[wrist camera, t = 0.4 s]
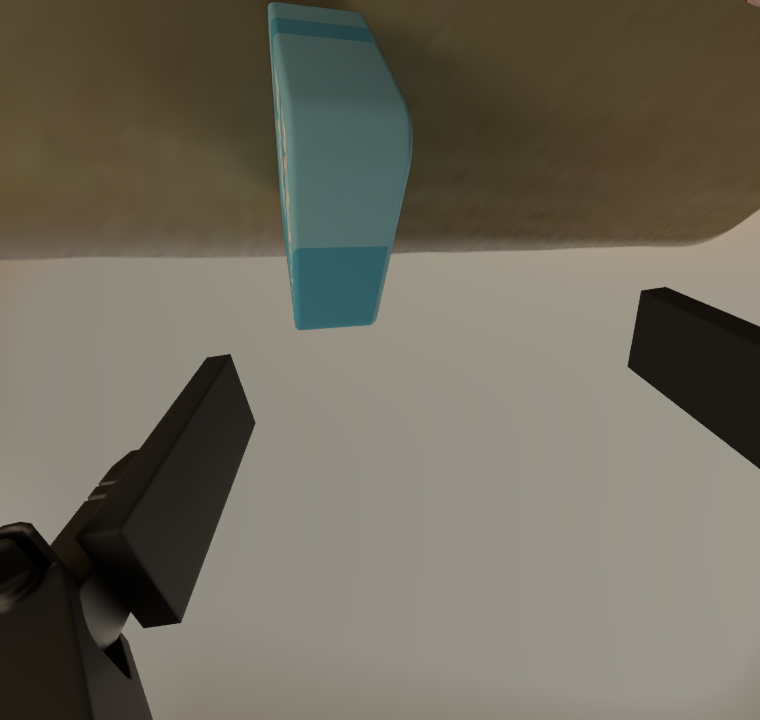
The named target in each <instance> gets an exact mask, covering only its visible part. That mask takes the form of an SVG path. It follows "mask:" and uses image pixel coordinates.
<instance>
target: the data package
mask: <svg viewBox="0 0 760 720" xmlns="http://www.w3.org/2000/svg"><path fill="white" fill-rule="evenodd" d="M268 26H269V41H270V55H271V70H272V84H273V98H274V113H275V127H276V142H277V156H278V170H279V185H280V199H281V210H282V220H283V228H284V237H285V245H286V253H287V262H288V270H289V278H290V287H291V295H292V304H293V312H294V320H295V326H296V328H297V329H298V330H309V329H322V328H335V327H336V328H337V327H349V326H363V325H372V324H373V323H374V322H375V321H376V318H377V314H378V310H379V305H380V301H381V296H382V292H383V286H384V283H385V278H386V273H387V269H388V264H389V260H390V255H391V251H392V246H393V242H394V237H395V233H396V228H397V224H398V219H399V215H400V210H401V206H402V201H403V197H404V192H405V188H406V183H407V179H408V174H409V170H410V164H411V157H412V144H413V133H412V121H411V115H410V111H409V108H408V106H407V103H406V101H405V99H404V97H403V95H402V93H401V91H400V89H399V87H398V85H397V83H396V81H395V79H394V77H393V75H392V73H391V71H390V69H389V67H388V65H387V63H386V61H385V59H384V57H383V55H382V53H381V51H380V49H379V47H378V45H377V43H376V41H375V39H374V37H373V35H372V33H371V31H370V29H369V27H368V25H367V23H366V21H365V19H364V17H363V15H362V14H361V13H359V12H354V11H346V10H337V9H329V8H321V7H313V6H304V5H296V4H288V3H280V2H271V3H270V4H269V6H268Z"/></svg>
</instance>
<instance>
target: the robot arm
mask: <svg viewBox="0 0 760 720" xmlns="http://www.w3.org/2000/svg"><path fill="white" fill-rule="evenodd" d="M628 367H629V368H630V369H631V370H632V371H634V372H635V373H637V374H638V375H639V376H640V377H642V378H643V379H644V380H645V381H647V382H648V383H649V384H651V385H652V386H653V387H655V388H656V389H657V390H658V391H660V392H661V393H662V394H664V395H665V396H666V397H667V398H669V399H670V400H671V401H673V402H674V403H675V404H676V405H678V406H679V407H680V408H682V409H683V410H684V411H685V412H687V413H688V414H689V415H691V416H692V417H693V418H695V419H696V420H697V421H698V422H700V423H701V424H702V425H704V426H705V427H706V428H708V429H709V430H710V431H711V432H713V433H714V434H715V435H717V436H718V437H719V438H720V439H722V440H723V441H724V442H726V443H727V444H728V445H729V446H731V447H732V448H733V449H735V450H736V451H737V452H739V453H740V454H741V455H743V456H744V457H745V458H746V459H748V460H749V461H750V462H752V463H753V464H754V465H755V466H757V467H758V468H759V469H760V327H759V326H757V325H755V324H752V323H750V322H748V321H745V320H743V319H741V318H738V317H736V316H733V315H731V314H729V313H726V312H724V311H722V310H719V309H717V308H714V307H712V306H710V305H707V304H705V303H702V302H700V301H698V300H695V299H693V298H690V297H688V296H686V295H683V294H681V293H679V292H676V291H674V290H672V289H669V288H667V287H662V288H656V289H649V290H643V291H641V295H640V300H639V306H638V312H637V317H636V322H635V329H634V334H633V339H632V345H631V350H630V356H629V362H628ZM254 425H255V420H254V418H253V415H252V412H251V410H250V407H249V404H248V401H247V399H246V396H245V393H244V390H243V387H242V385H241V382H240V379H239V377H238V374H237V371H236V368H235V366H234V363H233V360H232V358H231V355H230V354H228V355H222V356H215V357H208V358H206V360H205V361H204V362H203V364H202V365H201V366H200V368H199V369H198V370H197V372H196V373H195V374H194V376H193V377H192V379H191V380H190V381H189V383H188V384H187V385H186V387H185V388H184V389H183V391H182V392H181V394H180V395H179V396H178V398H177V399H176V400H175V402H174V403H173V404H172V406H171V407H170V409H169V410H168V411H167V413H166V414H165V415H164V417H163V418H162V419H161V421H160V422H159V423H158V425H157V426H156V427H155V429H154V430H153V432H152V433H151V434H150V436H149V437H148V438H147V440H146V441H145V443H144V444H143V445H142V447H141V448H140V449H139V450H134V451H131V452H130V453H128V454H127V455H126V456H125V457H123V458H122V459H121V460H120V461H118V462H117V463H116V464H115V465H113V466H112V468H111V469H110V470H109V471H108V472H107V474H106V475H105V476H104V478H103V479H102V480H101V481H100V483H99V487H96V488H95V489H94V490H93V492H92V493H91V494H90V496H89V497H88V501H85V502H84V503H83V504H82V506H81V507H80V508H79V510H78V511H77V512H76V513H75V515H74V516H73V517H72V519H71V520H70V521H69V523H68V524H67V525H66V526H65V528H64V529H63V530H62V531H61V533H60V534H59V535H58V536H57V538H56V539H55V540H54V541H53V543H52V544H51V545H50V546H49V544H48V543H47V542H46V541H45V540H44V538H43V537H42V536H41V535H40V534H39V532H38V531H37V530H36V529H35V528H34V526H33V525H32V524H31V523H25V522H17V523H13V524H9V525H4V526H2V527H0V720H153V719H152V715H151V712H150V709H149V706H148V703H147V700H146V696H145V693H144V690H143V687H142V684H141V681H140V678H139V674H138V671H137V669H136V665H135V662H134V659H133V656H132V652H131V649H130V646H129V643H128V641H127V639H126V638H125V637H124V635H123V634H122V633H121V630H122V628H123V626H124V624H125V622H126V620H127V618H128V616H129V614H130V612H131V613H132V614H133V615H134V616H135V618H136V619H137V620H138V622H139V623H140V624H141V626H142V627H143V628H149V627H156V626H163V625H170V624H177V623H181V621H182V618H183V616H184V613H185V610H186V607H187V605H188V602H189V599H190V597H191V594H192V591H193V589H194V586H195V583H196V581H197V578H198V576H199V573H200V570H201V567H202V565H203V562H204V559H205V557H206V554H207V551H208V549H209V546H210V543H211V541H212V538H213V535H214V533H215V530H216V527H217V525H218V522H219V519H220V517H221V514H222V511H223V509H224V506H225V503H226V501H227V498H228V495H229V493H230V490H231V487H232V484H233V482H234V479H235V476H236V473H237V471H238V468H239V466H240V463H241V460H242V457H243V455H244V452H245V450H246V447H247V444H248V441H249V439H250V436H251V434H252V431H253V428H254Z"/></svg>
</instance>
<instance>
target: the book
mask: <svg viewBox="0 0 760 720" xmlns="http://www.w3.org/2000/svg"><path fill="white" fill-rule="evenodd" d="M746 2H749V3H751V4H753V5H755V6H757V7H759V8H760V0H746Z"/></svg>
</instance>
